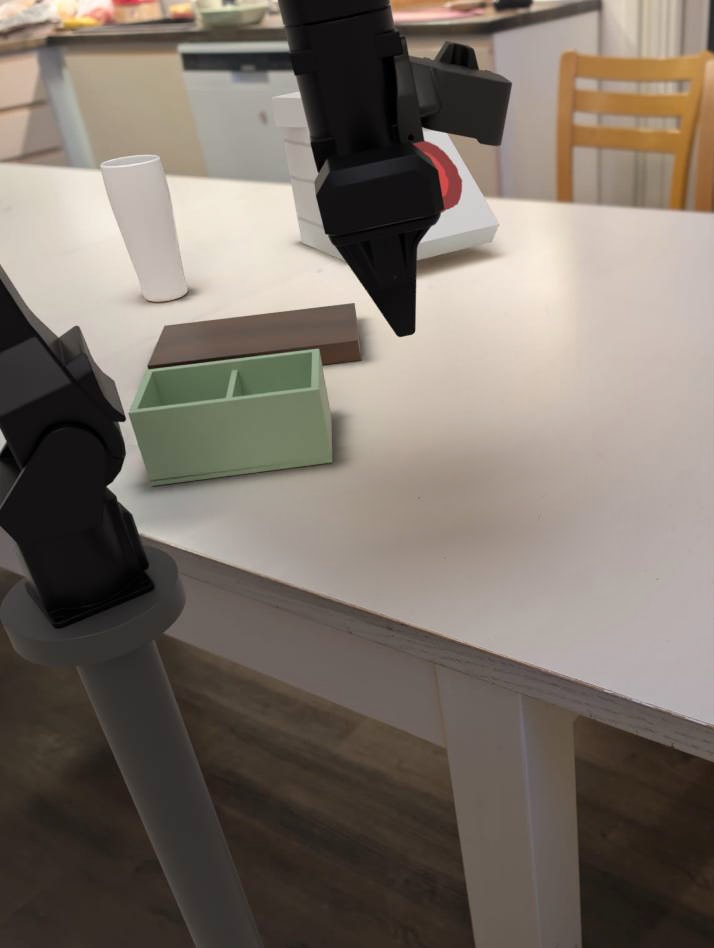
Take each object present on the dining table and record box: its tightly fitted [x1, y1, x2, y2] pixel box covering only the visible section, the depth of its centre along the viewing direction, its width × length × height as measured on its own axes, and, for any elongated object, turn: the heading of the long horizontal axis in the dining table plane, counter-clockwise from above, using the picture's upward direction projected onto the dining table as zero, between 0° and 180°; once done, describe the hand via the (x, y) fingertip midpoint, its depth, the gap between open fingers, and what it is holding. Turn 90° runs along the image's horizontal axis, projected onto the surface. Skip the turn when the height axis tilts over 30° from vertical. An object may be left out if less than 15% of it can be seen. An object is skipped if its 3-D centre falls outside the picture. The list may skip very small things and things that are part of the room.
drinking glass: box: [99, 154, 189, 303], centre depth 109 cm, size 7×7×15 cm
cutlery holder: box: [127, 349, 334, 487], centre depth 74 cm, size 9×14×6 cm, turn 98°
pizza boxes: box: [270, 90, 500, 262], centre depth 119 cm, size 19×30×18 cm, turn 33°
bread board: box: [146, 302, 362, 370], centre depth 94 cm, size 12×20×2 cm, turn 98°
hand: (399, 309), depth 59 cm, fingers open, 9 cm apart
